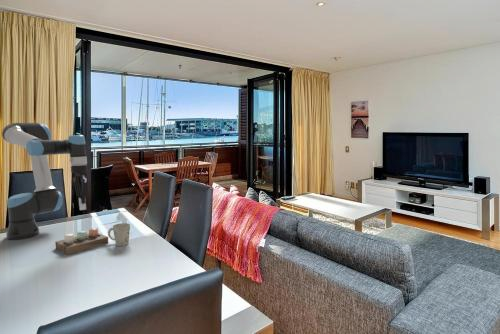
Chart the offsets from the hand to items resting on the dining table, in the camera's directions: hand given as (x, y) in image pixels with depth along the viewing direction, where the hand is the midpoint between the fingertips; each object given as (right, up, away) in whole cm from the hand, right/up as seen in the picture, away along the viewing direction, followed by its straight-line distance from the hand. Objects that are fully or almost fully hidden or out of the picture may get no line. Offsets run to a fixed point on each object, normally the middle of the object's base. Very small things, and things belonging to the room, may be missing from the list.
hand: (82, 209), depth 168 cm
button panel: (+2, -18, -4) cm, 19 cm away
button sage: (+2, -15, -4) cm, 16 cm away
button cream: (-2, -15, -9) cm, 18 cm away
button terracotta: (+5, -14, +1) cm, 15 cm away
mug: (+19, -18, -1) cm, 26 cm away
